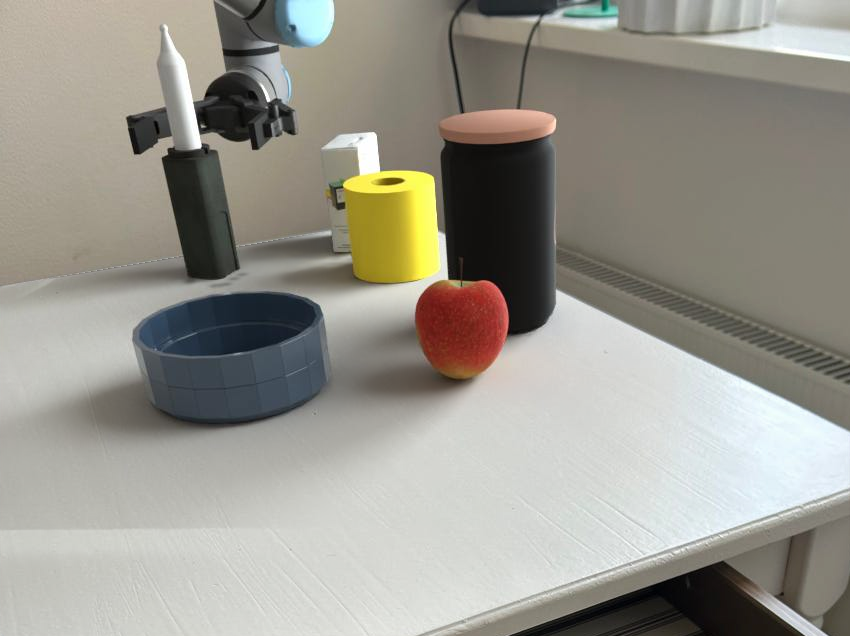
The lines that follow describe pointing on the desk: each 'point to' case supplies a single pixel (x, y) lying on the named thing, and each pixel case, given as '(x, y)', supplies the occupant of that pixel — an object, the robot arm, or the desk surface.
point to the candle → (194, 177)
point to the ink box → (346, 177)
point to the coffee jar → (503, 207)
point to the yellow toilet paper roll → (392, 226)
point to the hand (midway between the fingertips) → (193, 139)
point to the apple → (461, 326)
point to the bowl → (233, 355)
